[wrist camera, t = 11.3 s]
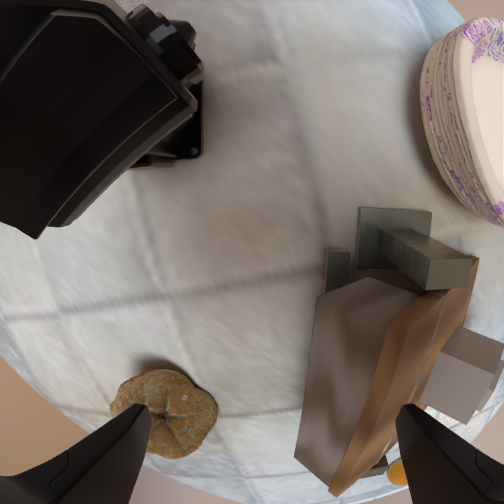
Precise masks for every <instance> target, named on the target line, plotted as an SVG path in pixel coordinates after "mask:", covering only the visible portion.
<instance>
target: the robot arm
mask: <svg viewBox="0 0 504 504" xmlns="http://www.w3.org/2000/svg"><path fill="white" fill-rule="evenodd" d="M195 35H196V32H195V30H194V29H193V27H192V26H191V25H190V24H189V23H188V22H187V21H180V20H167V19H166V18H165V17H164V16H163V15H162V14H161V13H159V12H158V13H157V14H154V13H153V12H152V11H151V10H150V9H149V8H148V7H147V6H146V5H144V4H141V5H139V6H138V7H137V8H135V9H134V10H132V11H131V12H130V13H128V14H127V13H126V12H125V11H124V10H123V9H122V8H121V7H120V6H119V5H118V4H117V3H116V2H115V1H114V0H0V222H2V223H5V224H7V225H10V226H13V227H15V228H17V229H19V230H20V231H22V232H23V233H25V234H26V235H28V236H30V237H31V238H33V239H38V238H39V236H40V235H41V234H42V232H43V231H44V230H45V228H46V227H47V226H48V227H64V226H68V225H70V224H71V223H72V222H73V221H74V220H76V219H77V218H78V217H79V216H80V215H81V214H82V213H83V212H84V211H85V210H86V209H87V208H88V207H89V206H90V205H91V204H92V203H93V202H94V201H95V200H96V199H97V198H98V197H99V196H100V195H101V194H102V193H103V192H104V191H105V190H106V189H107V188H108V187H109V186H110V185H111V184H112V183H113V182H114V181H115V180H116V179H117V178H119V177H120V176H121V175H122V174H123V173H124V172H125V171H126V170H141V169H152V168H163V167H171V166H172V165H173V164H174V160H184V159H197V158H199V157H201V155H202V153H203V79H205V78H204V75H203V73H202V72H203V71H204V68H203V64H202V61H201V60H200V59H199V57H198V56H197V55H196V53H195V52H194V50H195V46H196V45H195V43H194V39H195ZM194 148H197V150H198V153H197V154H196V155H193V154H192V150H193V149H194ZM395 426H396V431H397V437H398V443H399V449H400V455H401V460H402V464H403V467H404V471H405V474H406V478H407V482H408V486H409V490H410V494H411V498H412V502H413V504H504V465H503V464H501V463H499V462H497V461H496V460H494V459H492V458H490V457H489V456H487V455H486V454H484V453H483V452H481V451H480V450H478V449H476V448H475V447H474V446H472V445H471V444H470V443H468V442H467V441H465V440H464V439H462V438H461V437H460V436H458V435H457V434H455V433H454V432H453V431H451V430H450V429H448V428H447V427H446V426H444V425H443V424H441V423H440V422H439V421H437V420H436V419H434V418H433V417H432V416H430V415H429V414H428V413H426V412H425V411H423V410H422V409H421V408H419V407H418V406H417V405H415V404H414V403H409V404H404V405H403V406H402V407H401V409H400V411H399V413H398V415H397V417H396V420H395ZM151 427H152V417H151V415H150V412H149V409H148V406H147V405H146V404H142V403H134V404H133V405H131V406H130V407H129V408H127V409H126V410H124V411H123V412H122V413H120V414H119V415H117V416H116V417H115V418H113V419H112V420H110V421H109V422H107V423H106V424H104V425H103V426H102V427H100V428H99V429H97V430H96V431H94V432H93V433H91V434H90V435H88V436H87V437H85V438H84V439H82V440H81V441H79V442H78V443H76V444H75V445H73V446H72V447H70V448H69V449H68V450H65V451H64V452H62V453H61V454H59V455H57V456H56V457H54V458H52V459H51V460H49V461H47V462H45V463H43V464H41V465H38V466H36V467H34V468H32V469H29V470H27V471H25V472H23V473H20V474H17V475H14V476H0V504H128V503H129V500H130V498H131V495H132V492H133V489H134V486H135V483H136V480H137V478H138V475H139V472H140V469H141V466H142V464H143V461H144V457H145V454H146V449H147V444H148V440H149V436H150V431H151Z"/></svg>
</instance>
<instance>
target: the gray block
mask: <svg viewBox="0 0 504 504" xmlns="http://www.w3.org/2000/svg"><path fill="white" fill-rule="evenodd" d="M503 349H504V343H501V342H498V341H496V340H493V339H491V338H488V337H486V336H483V335H481V334H478V333H476V332H473V331H470V330H468V329H465V328H463V327H460V326H458V327H457V329H456V330H455V332H454V333H453V334H452V336H451V337H450V338H449V340H448V341H447V342H446V344H445V345H444V346H443V348H442V349H441V350H440V352H439V354H438V357H437V360H436V362H435V365H434V368H433V370H432V373H431V375H430V377H429V380H428V382H427V384H426V387H425V389H424V391H423V393H422V396H421V398H420V400H419V401H420V402H422V403H424V404H426V405H428V406H430V407H432V408H434V409H436V410H437V411H439V412H441V413H443V414H445V415H447V416H449V417H451V418H453V419H455V420H457V421H459V422H461V423H463V424H465V425H467V423H468V422H469V420H470V418H471V417H472V415H473V414H474V412H475V410H478V411H480V412H481V410H482V409H483V407H484V406H485V404H486V403H487V401H488V400H489V398H490V397H491V395H492V393H493V392H494V390H495V387H496V385H497V383H498V380H499V378H500V375H501V373H502V370H503V367H504V361H503V360H500V359H501V356H502V352H503Z"/></svg>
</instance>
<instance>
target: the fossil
mask: <svg viewBox="0 0 504 504" xmlns="http://www.w3.org/2000/svg"><path fill="white" fill-rule="evenodd" d="M134 403H142V404H146V405H147V406H148V409H149V412H150V415H151V417H152V427H151V431H150V436H149V440H148V444H147V449H146V453H153V454H157V455H160V456H163V457H164V458H167V459H178V458H182V457H185V456H188V455H189V454H191V453H192V452H194V451H195V450H197V449H198V447H199V446H200V445H201V444H202V441H203V440H204V438H205V437H206V436H207V434H208V433H209V432H210V430H211V429H212V427H213V426H214V425H215V423H216V420H217V407H216V404H215V402H214V399H213V398H212V397H211V396H210V395H209V394H208V393H206V392H204V391H202V390H201V389H199V388H195V387H194V385H193V384H192V383H191V382H190V380H189V379H188V378H187V377H186V376H184V375H182V374H180V373H179V372H177V371H172V370H165V369H155V370H151V371H148V372H146V373H143V374H141V375H138V376H136V377H132V378H130V379H129V380H127V381H125V382H124V383H123V384H121V385H120V387H119V389H118V394H117V396H116V399H115V400H114V401H113V402H112V404H111V405H110V411H111V414H112V417H113V418H115V417H116V416H117V415H119V414H120V413H122V412H123V411H124V410H126V409H127V408H129V407H130V406H131V405H133V404H134Z"/></svg>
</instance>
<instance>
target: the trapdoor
mask: <svg viewBox="0 0 504 504" xmlns="http://www.w3.org/2000/svg"><path fill="white" fill-rule="evenodd" d="M469 257H470V258H472V264H471V269H470V274H469V279H468V283H467V287H466V288H452V289H437V290H428V292H426V293H425V294H424V295H423V296H421V295H418V294H416V293H413V292H410V291H407V290H404V289H402V288H399V287H396V286H393V285H390V284H387V283H384V282H382V281H379V280H376V279H373V278H370V277H366V278H364V279H361V280H359V281H356V282H354V283H351V284H349V285H346V286H344V287H341V288H339V289H336V290H334V291H331V292H328V293H326V294H323V295H321V296H318V297H316V306H315V317H314V327H313V336H312V345H311V353H310V361H309V369H308V376H307V383H306V390H305V397H304V403H303V409H302V415H301V421H300V427H299V432H298V438H297V443H296V448H295V454H294V457H295V458H296V459H297V460H298V461H299V462H300V463H301V464H302V465H304V466H305V467H306V468H307V469H308V470H309V471H310V472H312V473H313V474H314V475H315V476H316V477H317V478H319V479H320V480H321V481H322V482H323V483H325V484H326V485H327V486H328V487H329V489H328V491H329V492H330V493H331V494H332V495H334V496H335V497H336V498H337V497H338V496H339V495H340V494H342V493H343V492H344V491H345V490H347V489H348V488H349V487H350V486H351V485H353V484H354V483H355V482H356V481H357V480H358V479H360V478H361V477H362V476H363V475H364V474H365V473H366V472H367V471H369V470H370V469H371V468H372V467H373V466H374V465H375V464H377V463H378V462H379V461H380V459H381V458H382V457H383V456H384V455H385V454H386V453H387V452H388V451H389V450H390V449H391V448H392V447H393V446H394V445H395V444H396V443H397V442H398V437H397V431H396V426H395V420H396V417H397V415H398V413H399V411H400V409H401V407H402V406H403V405H404V404H409V403H414V404H415V405H417V406H418V407H419V408H421V409H422V410H423V411H424V410H425V409H426V407H427V406H428V405H426V404H424V403H422V402H420V401H419V400H420V398H421V396H422V393H423V391H424V389H425V387H426V384H427V382H428V380H429V377H430V375H431V373H432V370H433V368H434V365H435V362H436V360H437V357H438V354H439V352H440V350H441V349H442V348H443V346H444V345H445V344H446V342H447V341H448V340H449V338H450V337H451V336H452V334H453V333H454V332H455V330H456V329H457V327H458V326H460V327H462V326H463V323H464V319H465V316H466V313H467V309H468V306H469V302H470V298H471V295H472V291H473V286H474V282H475V278H476V273H477V268H478V263H479V258H477V257H474V256H469Z"/></svg>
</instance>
